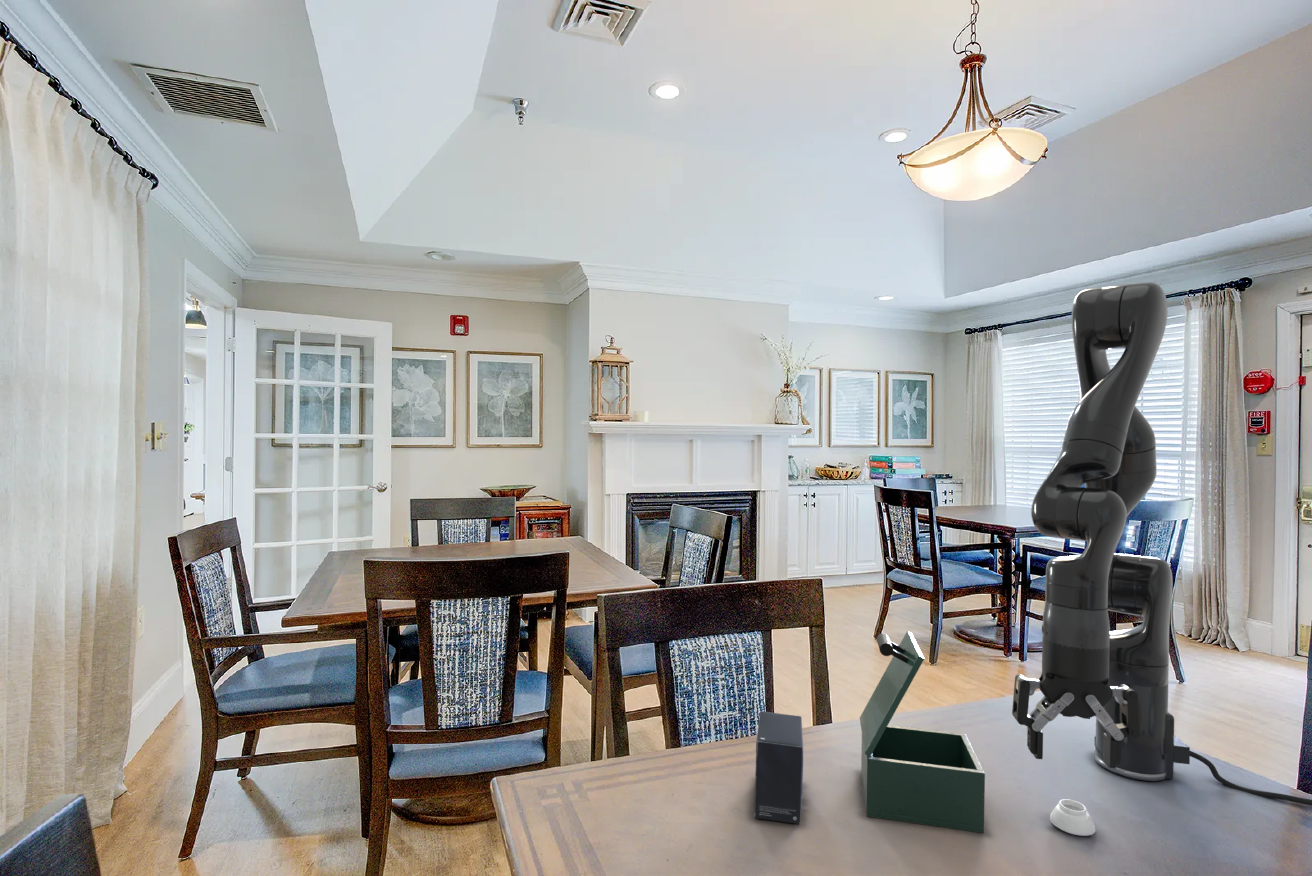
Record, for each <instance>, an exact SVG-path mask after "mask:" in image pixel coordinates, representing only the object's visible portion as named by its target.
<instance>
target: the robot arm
mask: <svg viewBox="0 0 1312 876" xmlns="http://www.w3.org/2000/svg"><path fill="white" fill-rule="evenodd" d="M1163 289H1164V288H1163V287H1161V285H1160V284H1158V283H1156V282H1152V281H1151V282H1137V283H1135V282H1134V283H1127V284H1119V285H1110V286H1103V287H1094V288H1088V289H1087V288H1086V289H1084V290H1081V291H1080V292H1078V294H1077V295H1076V296H1075V297H1074V300H1073V303H1072V306H1071V307H1072V308H1071V333H1072V340H1073V348H1074V354H1075V361H1076V362H1075V363H1076V369H1077V376H1078V384H1079V393H1080V400H1079V401H1078V403H1077V404H1076V405H1075V407H1074V408H1073V410H1072V412H1071V414H1070V416H1069V418H1068V421H1067V425H1066V429H1065V432H1064V436H1063V441H1062V446H1061V448H1060V449H1061V450H1060V453H1059V455H1058V457H1057V459H1056V460H1055V462H1054V464H1053V465H1052V467H1051V469H1050V471H1049V472H1048V474H1047V475H1046V477H1045V479H1044V480H1043V481H1042V483H1041V484H1040V486H1039V487H1038V489H1037V491H1036V493H1035V495H1034V497H1033V500H1032V503H1031V508H1030V515H1031V520H1032V523H1033V525H1034V527H1035V529H1036V530H1037V532H1039V533H1040V534H1041V535H1043V536H1045V537H1049V538H1054V539H1062V540H1063V539H1064V540H1072V541H1080V542H1086V547H1085V549H1084V551H1083V552H1082V553H1081V554H1080V555H1069V556H1068V555H1067V556H1066V555H1065V556H1057V557H1056V556H1055V557H1053V558H1050V559H1049V560H1048V561H1047V563H1046V568H1045V591H1044V592H1045V593H1044V597H1045V598H1044V599H1045V600H1044V609H1043V613H1042V625H1041V633H1042V638H1041V639H1042V640H1041V642H1042V643H1041V645H1042V647H1041V648H1042V649H1041V673H1040V674H1041V675H1040V677H1038V678H1037V679H1036V678H1030V677H1025V676H1024V674H1021V673H1017V674H1016V675H1015V676H1014V684H1013V697H1012V709H1011V715H1012V716H1013V718H1014V719H1015V721H1016V722H1017V723H1018V724H1019V725H1020V726H1026V728H1027V730H1026V737H1027V738H1026V746H1027V748H1028V750H1029V752H1030V753H1031V754H1032V755H1033V757H1034V758H1035V760H1043V757H1044V732H1043V728H1044V727H1046V725H1048V723H1049V722H1052V721H1054V720H1055V719H1056V718H1057V717H1058V716H1059V715H1061V716H1063V717H1064V718H1065V717H1067V718H1072V717H1078V718H1081V719H1083V720H1085V719H1086V720H1091V718H1094V717H1095V736H1094V749H1095V750H1094V760H1095V762H1096V763H1097V764H1098V765H1100V766H1101V767H1102V768H1104V769H1106V770H1108V771H1110V772H1112V773H1114V774H1117V775H1121V776H1123V777H1126V778H1129V779H1133V780H1134V779H1135V780H1140V781H1147V782H1157V781H1159V782H1160V781H1163V780H1174V776H1175V775H1174V773H1175V771H1174V768H1175V767H1174V766H1175V765H1174V764H1183V765H1190V762H1191V761H1190V760H1191V759H1190V758H1193V759H1195V760H1198V761H1200V762H1201V763H1202V764H1204V765H1205V766H1206V767H1208V768H1209V770H1210V773H1211V775H1212V776H1213V778H1214V779H1215V780H1216V781H1217V782H1218V783H1220V784H1222V785H1224V786H1226V787H1228V788H1231V789H1235V790H1238V791H1242V792H1245V793H1247V794H1248V793H1249V794H1252V795H1255V796H1258V797H1263V798H1267V799H1268V798H1269V799H1274V800H1281V801H1287V802H1292V803H1297V804H1301V805H1307V806H1310V807H1312V799H1310V798H1305V797H1301V796H1296V795H1290V794H1285V793H1279V792H1272V791H1265V790H1257V789H1252V788H1247V787H1244V786H1240V785H1237V784H1235V783H1234V782H1231V781H1230V780H1227V779H1226V778H1224V777H1222V776H1221V775H1220V774H1219V772H1218V770H1217V768H1216V766H1215V765H1214V764H1213V763H1212V761H1210V760H1209V759H1207V758H1206V757H1204V756H1203V755H1201V754H1199V753H1197V752H1194V751H1192V750H1191V748H1190V746H1189V745H1187V744H1186V743H1185V742H1184V741H1183V740H1181V739H1180V738H1179V737H1178V736H1177V735H1175V717H1174V715H1172V714H1171V713H1170V712H1169V670H1170V669H1169V668H1170V667H1169V664H1170V624H1171V609H1172V600H1173V588H1174V587H1173V585H1174V584H1173V583H1174V581H1173V571H1172V568H1171V566H1170V564H1169V563H1168V562H1167V561H1166V560H1165V559H1162V558H1159V557H1153V556H1144V555H1143V556H1141V555H1134V554H1126V553H1125V554H1124V553H1116V551H1117V548H1118V545H1119V542H1120V540H1121V538H1122V535H1123V532H1124V530H1125V528H1126V527H1125V526H1126V523H1127V518H1128V516H1129V515H1130V513H1132V511H1133V510H1134V509H1135V507H1137V506H1138V504H1139V503H1140V502H1141V501H1142V499H1143V498H1144V497H1145V496H1146V495H1147V494H1148V492H1149V491H1150V490H1151V488H1152V487H1153V484H1154V483H1155V481H1156V477H1157V449H1156V448H1157V446H1156V445H1157V443H1156V442H1157V441H1156V436H1155V432H1154V429H1153V427H1152V426H1151V424H1150V423H1149V421H1148V420H1147V419H1146V417H1145V416H1144V414H1143V413H1142V412H1141V411H1140V410H1139V408H1138V407H1137V406H1136V405H1137V402H1138V399H1139V397H1140V394H1141V392H1142V390H1143V387H1144V385H1145V383H1146V381H1147V379H1148V376H1149V374H1150V371H1151V368H1152V366H1153V363H1154V361H1155V358H1156V356H1157V355H1158V351H1159V348H1160V346H1161V344H1162V341H1163V338H1164V334H1165V331H1166V327H1167V323H1168V314H1169V313H1168V300H1167V296H1166V293H1165V291H1164V290H1163ZM1123 349H1124V350H1123ZM1107 350H1123V352H1122V355H1121V356H1120V358H1119V359H1118V360H1117V362H1116V363H1115V364H1114V365H1113V367H1112V368H1111V367H1110V364H1109V359H1108V355H1107ZM1083 485H1084V487H1083ZM1109 612H1114V613H1119V614H1126V615H1132V616H1139V617H1142V623H1141V624H1139V625H1137V626H1135V627H1130V628H1127V629H1120V630H1119V629H1118V630H1111V624H1110V617H1109ZM1036 690H1040V692H1041V693H1042V695H1043V697H1042V698H1041V699H1040V700H1038V702H1037V703H1036V705H1035V708H1034V709H1033V710H1032V711H1030V713H1029V702H1030V696H1034V694H1035V691H1036Z"/></svg>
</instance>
